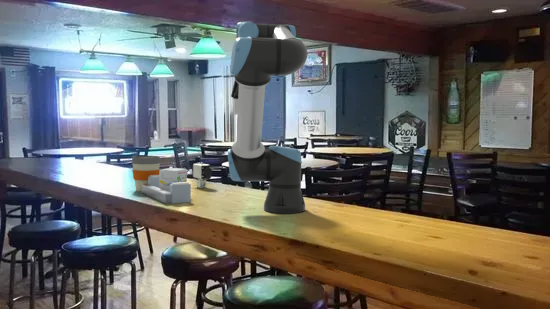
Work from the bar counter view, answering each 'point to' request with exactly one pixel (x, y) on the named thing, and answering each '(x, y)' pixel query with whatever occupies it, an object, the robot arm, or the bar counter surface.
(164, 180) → the ink box
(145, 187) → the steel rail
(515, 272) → the bar counter surface
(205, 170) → the pneumatic valve
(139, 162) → the reusable coffee cup
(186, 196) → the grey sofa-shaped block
